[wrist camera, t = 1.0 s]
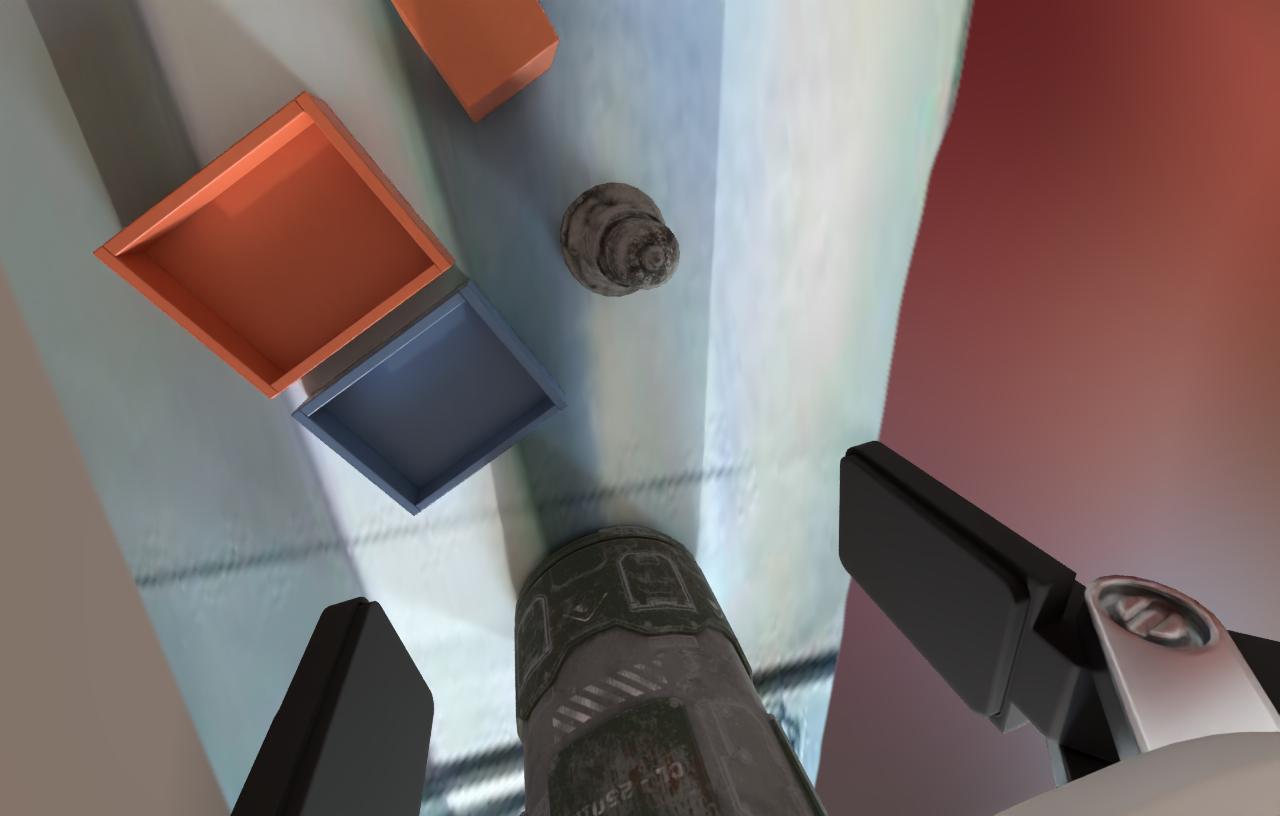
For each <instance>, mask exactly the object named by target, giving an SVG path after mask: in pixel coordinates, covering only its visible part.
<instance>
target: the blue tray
mask: <svg viewBox="0 0 1280 816" xmlns="http://www.w3.org/2000/svg"><path fill="white" fill-rule="evenodd" d="M567 406H568V405H567V401H566V398H565V394H564V391H563V390H562V389H561V387H560V386H559V385H558V384H557V383H556V381H555V380H554V379H553V378H552V377H551V375H550V374H549V373H548V372H547V370H546V369H545V368H544V367H543V366H542V364H541V363H540V362H539V361H538V360H537V358H536V357H535V356H534V355H533V354H532V352H531V351H530V350H529V349H528V347H527V346H526V345H525V344H524V343H523V341H522V340H521V339H520V338H519V337H518V335H517V334H516V333H515V332H514V331H513V329H512V328H511V327H510V326H509V324H508V323H507V322H506V321H505V320H504V318H503V317H502V316H501V315H500V314H499V312H498V311H497V310H496V309H495V308H494V306H493V305H492V304H491V303H490V301H489V300H488V299H487V298H486V297H485V295H484V294H483V293H482V292H481V291H480V289H479V288H478V287H477V286H476V285H475V283H474V282H473V281H472V280H471V279H469V280H467V281H466V282H464V283H463V284H462V285H460V286H459V287H458V288H456V289H455V290H454V291H452V292H451V293H450V294H448V295H447V296H445V297H444V298H443V299H441V300H440V301H439V302H437V303H436V304H435V305H433V306H432V307H431V308H429V309H428V310H426V311H425V312H424V313H422V314H421V315H420V316H418V317H417V318H416V319H414V320H413V321H412V322H410V323H409V324H407V325H406V326H405V327H403V328H402V329H401V330H399V331H398V332H397V333H395V334H394V335H393V336H391V337H390V338H388V339H387V340H386V341H384V342H383V343H382V344H380V345H379V346H378V347H376V348H375V349H374V350H372V351H371V352H370V353H368V354H367V355H365V356H364V357H363V358H361V359H360V360H359V361H357V362H356V363H355V364H353V365H352V366H351V367H349V368H348V369H346V370H345V371H344V372H342V373H341V374H340V375H338V376H337V377H336V378H334V379H333V380H332V381H330V382H329V383H327V384H326V385H325V386H323V387H322V388H321V389H319V390H318V391H317V392H315V393H314V394H313V395H311V396H310V397H308V398H307V399H306V400H305V401H304V402H303V403H302V404H301V405H300V406H299V407H298V408H297V409H296V410H295V411H294V412H293V413H292V415H291V416H292V417H293V418H294V419H296V420H297V421H298V422H299V423H301V424H302V425H303V426H304V427H306V428H307V429H308V430H309V431H310V432H312V433H313V434H314V435H315V436H317V437H318V438H319V439H320V440H321V441H323V442H324V443H325V444H326V445H328V446H329V447H330V448H331V449H332V450H334V451H335V452H336V453H337V454H339V455H340V456H341V457H342V458H343V459H345V460H346V461H347V462H348V463H350V464H351V465H352V466H353V467H354V468H356V469H357V470H358V471H359V472H361V473H362V474H363V475H364V476H365V477H367V478H368V479H369V480H370V481H372V482H373V483H374V484H375V485H377V486H378V487H379V488H380V489H381V490H383V491H384V492H385V493H386V494H388V495H389V496H390V497H391V498H392V499H394V500H395V501H396V502H397V503H399V504H400V505H401V506H402V507H403V508H405V509H406V510H407V511H408V512H410V513H411V514H412V515H413V516H416V515H417V514H419V513H420V512H421V511H423V510H424V509H425V508H427V507H428V506H430V505H431V504H432V503H434V502H435V501H437V500H438V499H439V498H441V497H442V496H444V495H445V494H446V493H448V492H449V491H450V490H452V489H453V488H455V487H456V486H457V485H459V484H460V483H462V482H463V481H464V480H466V479H467V478H469V477H470V476H471V475H473V474H474V473H475V472H477V471H478V470H480V469H481V468H482V467H484V466H485V465H487V464H488V463H489V462H491V461H492V460H493V459H495V458H496V457H498V456H499V455H500V454H502V453H503V452H505V451H506V450H507V449H509V448H510V447H512V446H513V445H514V444H516V443H517V442H518V441H520V440H521V439H523V438H524V437H525V436H527V435H528V434H530V433H531V432H532V431H534V430H535V429H537V428H538V427H539V426H541V425H542V424H543V423H545V422H546V421H548V420H549V419H550V418H552V417H553V416H555V415H556V414H557V413H559V412H560V411H561V410H563V409H564V408H566V407H567Z"/></svg>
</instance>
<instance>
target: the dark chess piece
mask: <svg viewBox="0 0 1280 816" xmlns="http://www.w3.org/2000/svg"><path fill="white" fill-rule="evenodd" d="M560 242H561V248H562V252H563V256H564V260H565V263H566V265H567V266H568V268H569V270H570V272H571V274H572V275H573V276H574V277H575V278H576V279H577V280H578V281H579V282H580V284H581V285H582V286H584V287H586V288H587V289H589V290H591V291H592V292H594V293H597V294H601V295H604V296H624V295H628V294H632V293H634V292H636V291H638V290H639V289H652V288H656V287H659V286H661V285H662V284H664V283H666V282H667V281H668V280H669V279H670V278H671V277H672V275H673V274H674V272H675V270H676V268H677V265H678V263H679V255H680V251H679V244H678V242H677V240H676V237H675V235H674V234H673V233H672V232H671V230H670V229H669V228H668V227H666V226H665V222H664V219H663V217H662V215H661V212H660V210H659V208H658V207H657V206H656V205H655V203H654V202H653V201H652V199H651V198H650V197H649V196H647V195H646V194H645V193H643V192H642V191H641V190H639V189H638V188H635V187H632V186H630V185H627V184H623V183H606V184H602V185H597V186H595V187H593V188H591V189H589V190H588V191H586V192H584V193H583V194H582V195H581V196H580V197H579V198H577V199H576V200H575V201H574V202H573V203H572V204H571V205H570V206H569V208H568V210H567V212H566V213H565V215H564V217H563V221H562V225H561V229H560Z"/></svg>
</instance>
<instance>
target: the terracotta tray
mask: <svg viewBox="0 0 1280 816" xmlns="http://www.w3.org/2000/svg"><path fill="white" fill-rule="evenodd" d="M93 254H94V255H95V256H96V257H97V258H99V259H100V260H101V261H102V262H103V263H105V264H106V265H107V266H108V267H110V268H111V269H112V270H113V271H114V272H116V273H117V274H118V275H119V276H121V277H122V278H123V279H124V280H125V281H127V282H128V283H129V284H130V285H132V286H133V287H134V288H135V289H137V290H138V291H139V292H140V293H141V294H143V295H144V296H145V297H146V298H148V299H149V300H150V301H151V302H152V303H154V304H155V305H156V306H157V307H159V308H160V309H161V310H162V311H163V312H165V313H166V314H167V315H168V316H170V317H171V318H172V319H173V320H174V321H176V322H177V323H178V324H179V325H181V326H182V327H183V328H184V329H185V330H187V331H188V332H189V333H190V334H192V335H193V336H194V337H195V338H197V339H198V340H199V341H200V342H201V343H203V344H204V345H205V346H206V347H208V348H209V349H210V350H211V351H212V352H214V353H215V354H216V355H217V356H219V357H220V358H221V359H222V360H223V361H225V362H226V363H227V364H228V365H230V366H231V367H232V368H233V369H234V370H236V371H237V372H238V373H239V374H241V375H242V376H243V377H244V378H245V379H247V380H248V381H249V382H250V383H252V384H253V385H254V386H255V387H256V388H258V389H259V390H260V391H261V392H263V393H264V394H265V395H266V396H268V397H269V398H270V399H273V398H274V397H275V396H277V395H278V394H279V393H281V392H282V391H283V390H285V389H286V388H288V387H289V386H290V385H292V384H293V383H294V382H296V381H297V380H298V379H300V378H301V377H302V376H304V375H305V374H306V373H308V372H309V371H311V370H312V369H313V368H315V367H316V366H317V365H319V364H320V363H321V362H323V361H324V360H325V359H327V358H328V357H329V356H331V355H332V354H334V353H335V352H336V351H338V350H339V349H340V348H342V347H343V346H344V345H346V344H347V343H348V342H350V341H351V340H352V339H354V338H355V337H357V336H358V335H359V334H361V333H362V332H363V331H365V330H366V329H367V328H369V327H370V326H371V325H373V324H374V323H375V322H377V321H378V320H380V319H381V318H382V317H384V316H385V315H386V314H388V313H389V312H390V311H392V310H393V309H394V308H396V307H397V306H398V305H400V304H401V303H403V302H404V301H405V300H407V299H408V298H409V297H411V296H412V295H413V294H415V293H416V292H417V291H419V290H420V289H421V288H423V287H424V286H426V285H427V284H428V283H430V282H431V281H432V280H434V279H435V278H436V277H438V276H439V275H440V274H442V273H443V272H444V271H446V270H447V269H449V268H450V267H451V266H452V265H453V263H454V262H455V259H454V258H453V257H452V255H451V254H450V253H449V252H448V251H447V249H446V248H445V247H444V246H443V245H442V243H441V242H440V241H439V240H438V238H437V237H436V236H435V235H434V234H433V232H432V231H431V230H430V229H429V228H428V226H427V225H426V224H425V223H424V222H423V220H422V219H421V218H420V217H419V215H418V214H417V213H416V212H415V211H414V209H413V208H412V207H411V206H410V205H409V203H408V202H407V201H406V200H405V199H404V197H403V196H402V195H401V194H400V192H399V191H398V190H397V189H396V188H395V186H394V185H393V184H392V183H391V182H390V180H389V179H388V178H387V177H386V176H385V174H384V173H383V172H382V171H381V169H380V168H379V167H378V166H377V165H376V163H375V162H374V161H373V160H372V159H371V157H370V156H369V155H368V154H367V153H366V151H365V150H364V149H363V148H362V146H361V145H360V144H359V143H358V142H357V140H356V139H355V138H354V137H353V136H352V134H351V133H350V132H349V131H348V130H347V128H346V127H345V126H344V125H343V123H342V122H341V121H340V120H339V119H338V117H337V116H336V115H335V114H334V113H333V111H332V110H331V109H330V108H329V107H328V105H327V104H326V103H325V102H324V101H323V100H321V99H319V98H317V97H315V96H313V95H311V94H309V93H307V92H305V91H304V92H302V93H301V94H300V95H298V96H297V97H296V98H295V100H292V101H291V102H289V103H288V104H287V105H285V106H284V107H283V108H281V109H280V110H279V111H278V112H276V113H275V114H274V115H272V116H271V117H270V118H268V119H267V120H266V121H264V122H263V123H262V124H260V125H259V126H258V127H257V128H255V129H254V130H253V131H251V132H250V133H249V134H247V135H246V136H245V137H243V138H242V139H241V140H240V141H238V142H237V143H236V144H234V145H233V146H232V147H230V148H229V149H228V150H226V151H225V152H224V153H223V154H221V155H220V156H219V157H217V158H216V159H215V160H213V161H212V162H211V163H209V164H208V165H207V166H205V167H204V168H203V169H202V170H200V171H199V172H198V173H196V174H195V175H194V176H192V177H191V178H190V179H188V180H187V181H186V182H185V183H183V184H182V185H181V186H179V187H178V188H177V189H175V190H174V191H173V192H171V193H170V194H169V195H168V196H166V197H165V198H164V199H162V200H161V201H160V202H158V203H157V204H156V205H154V206H153V207H152V208H150V209H149V210H148V211H147V212H145V213H144V214H143V215H141V216H140V217H139V218H137V219H136V220H135V221H133V222H132V223H131V224H130V225H128V226H127V227H126V228H124V229H123V230H122V231H120V232H119V233H118V234H116V235H115V236H114V237H112V238H111V239H110V240H109V241H107V242H106V243H105V244H104V245H103V246H101V247H99V248H98V249H97V250H95V251H94V252H93Z"/></svg>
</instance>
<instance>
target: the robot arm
mask: <svg viewBox="0 0 1280 816" xmlns="http://www.w3.org/2000/svg"><path fill="white" fill-rule="evenodd" d="M839 557H840V560H841V563H842V565H843V566H844V568H845V569H846V571H847V572H848V573H849V574H850V575H851V576H852V577H853V579H854V580H855V581H856V582H857V583H858V584H859V585H860V586H861V588H862V589H863V590H864V591H865V592H866V593H867V594H868V595H869V596H870V598H871V599H872V600H873V601H874V602H875V603H876V604H877V605H878V606H879V607H880V609H881V610H882V611H883V612H884V613H885V614H886V615H887V617H889V619H890V620H891V621H892V622H893V623H894V624H895V625H896V627H897V628H898V629H899V630H900V631H901V632H902V633H903V634H904V635H905V636H906V638H907V639H908V640H909V641H910V642H911V643H912V644H913V646H914V647H915V648H916V649H917V650H918V651H919V652H920V653H921V654H922V655H923V657H924V658H925V659H926V660H927V661H928V662H929V663H930V664H931V666H933V668H934V669H935V670H936V671H937V672H938V673H939V674H940V676H941V677H942V678H943V679H944V680H945V681H946V682H947V683H948V685H949V686H951V688H952V689H953V690H954V691H955V692H956V693H957V695H958V696H959V697H960V698H961V699H962V700H963V701H964V702H965V703H966V704H967V706H968V707H969V708H970V709H971V710H972V711H973V712H974V713H975V714H977V715H978V716H980V717H983V718H985V717H987V718H988V719H990V721H991V722H992V723H993V724H994V725H995V726H996V727H997V728H998V730H999V731H1000V732H1001V733H1002V734H1004V733H1007V732H1009V731H1011V730H1013V729H1016V728H1018V727H1021V726H1023V725H1025V724H1028V723H1029V722H1031V723H1032V724H1033V725H1034V726H1035V727H1036V728H1037V729H1038V730H1039V731H1040V732H1041V733H1042V734H1043V735H1044V736H1045V739H1046V743H1047V748H1048V752H1049V757H1050V761H1051V766H1052V770H1053V775H1054V779H1055V784H1056V788H1055V789H1053V790H1050V791H1048V792H1046V793H1043V794H1041V795H1038V796H1036V797H1034V798H1031V799H1029V800H1027V801H1025V802H1022V803H1020V804H1018V805H1016V806H1013V807H1011V808H1009V809H1007V810H1004V811H1002V812H1000V813H998V814H996V815H993V816H1280V642H1278V641H1273V640H1269V639H1264V638H1260V637H1256V636H1251V635H1247V634H1242V633H1238V632H1234V631H1230V630H1226V629H1225V627H1224V626H1223V625H1222V623H1221V622H1220V621H1219V620H1218V619H1217V618H1216V616H1215V615H1214V614H1213V613H1212V612H1211V611H1209V610H1208V609H1206V608H1205V607H1204V606H1202V605H1201V604H1200V603H1199V602H1197V601H1196V600H1194V599H1192V598H1191V597H1189V596H1187V595H1185V594H1183V593H1181V592H1179V591H1178V590H1176V589H1173V588H1170V587H1168V586H1165V585H1163V584H1160V583H1158V582H1155V581H1151V580H1147V579H1143V578H1138V577H1134V576H1122V575H1111V576H1104V577H1099V578H1097V579H1096V580H1093V581H1092V582H1090V583H1089V585H1088V586H1087V588H1086V587H1085V586H1084V585H1082V584H1081V583H1079V582H1078V581H1076V580H1075V577H1076V573H1075V572H1074V571H1072V570H1071V569H1069V568H1068V567H1066V566H1065V565H1063V564H1062V563H1060V562H1059V561H1057V560H1056V559H1054V558H1053V557H1051V556H1050V555H1048V554H1047V553H1045V552H1044V551H1042V550H1041V549H1039V548H1038V547H1036V546H1035V545H1033V544H1032V543H1030V542H1029V541H1027V540H1026V539H1024V538H1023V537H1021V536H1020V535H1018V534H1017V533H1015V532H1014V531H1012V530H1011V529H1009V528H1008V527H1006V526H1005V525H1003V524H1002V523H1000V522H999V521H997V520H996V519H994V518H993V517H991V516H990V515H988V514H987V513H985V512H984V511H983V510H981V509H980V508H978V507H976V506H975V505H973V504H972V503H970V502H969V501H967V500H966V499H965V498H963V497H962V496H960V495H958V494H957V493H956V492H954V491H952V490H951V489H950V488H948V487H947V486H945V485H944V484H942V483H941V482H939V481H938V480H936V479H934V478H933V477H932V476H930V475H929V474H927V473H926V472H924V471H923V470H921V469H920V468H918V467H917V466H915V465H914V464H912V463H911V462H909V461H908V460H906V459H905V458H903V457H902V456H900V455H899V454H897V453H896V452H894V451H893V450H891V449H890V448H888V447H887V446H885V445H884V444H882V443H880V442H878V441H871V442H867V443H864V444H861V445H858V446H854V447H851V448H849V449H848V450H847V452H846V455H845V457H843V458H842V459H841V462H840V506H839ZM433 715H434V702H433V697H432V693H431V691H430V689H429V687H428V686H427V684H426V682H425V681H424V679H423V677H422V675H421V674H420V672H419V670H418V669H417V667H416V665H415V663H414V662H413V660H412V658H411V657H410V655H409V653H408V652H407V650H406V648H405V646H404V645H403V643H402V641H401V640H400V638H399V636H398V634H397V633H396V631H395V629H394V628H393V626H392V624H391V622H390V621H389V619H388V617H387V616H386V614H385V612H384V610H383V609H382V607H381V605H380V604H379V603H378V602H376V601H373V602H369V601H368V600H367V599H366V598H364V597H358V598H354V599H351V600H348V601H345V602H341V603H338V604H335V605H331V606H328V607H327V608H325V609H324V611H323V612H322V614H321V616H320V618H319V621H318V623H317V625H316V628H315V630H314V632H313V634H312V637H311V639H310V641H309V643H308V646H307V648H306V650H305V652H304V655H303V657H302V659H301V661H300V664H299V666H298V668H297V670H296V673H295V675H294V677H293V679H292V682H291V684H290V686H289V688H288V691H287V693H286V695H285V697H284V700H283V702H282V704H281V707H280V709H279V711H278V712H277V714H276V716H275V717H274V719H273V721H272V724H271V726H270V728H269V730H268V733H267V735H266V737H265V739H264V742H263V744H262V746H261V748H260V751H259V753H258V755H257V757H256V760H255V762H254V764H253V766H252V769H251V771H250V773H249V775H248V777H247V780H246V782H245V784H244V786H243V789H242V791H241V793H240V795H239V798H238V800H237V802H236V804H235V807H234V809H233V811H232V813H231V816H419V814H420V807H421V799H422V792H423V785H424V778H425V771H426V764H427V757H428V750H429V743H430V736H431V729H432V722H433Z"/></svg>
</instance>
